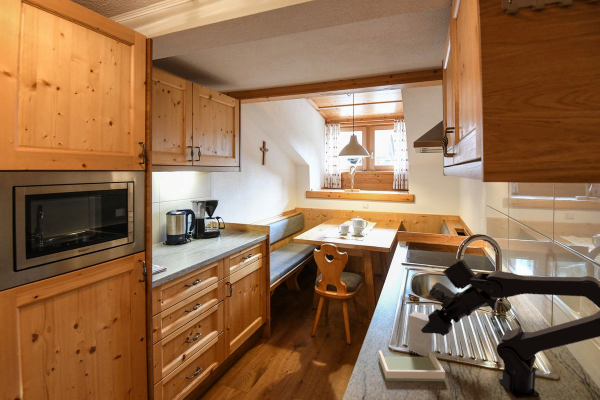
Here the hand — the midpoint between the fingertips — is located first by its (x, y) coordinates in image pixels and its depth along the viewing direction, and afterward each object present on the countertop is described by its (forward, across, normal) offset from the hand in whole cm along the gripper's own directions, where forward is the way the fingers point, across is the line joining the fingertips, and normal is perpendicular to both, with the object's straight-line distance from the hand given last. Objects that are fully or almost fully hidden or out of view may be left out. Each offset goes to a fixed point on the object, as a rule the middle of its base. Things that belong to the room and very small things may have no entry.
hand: (427, 325), depth 99 cm
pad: (+7, +11, +6) cm, 14 cm away
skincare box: (+8, 0, +5) cm, 10 cm away
